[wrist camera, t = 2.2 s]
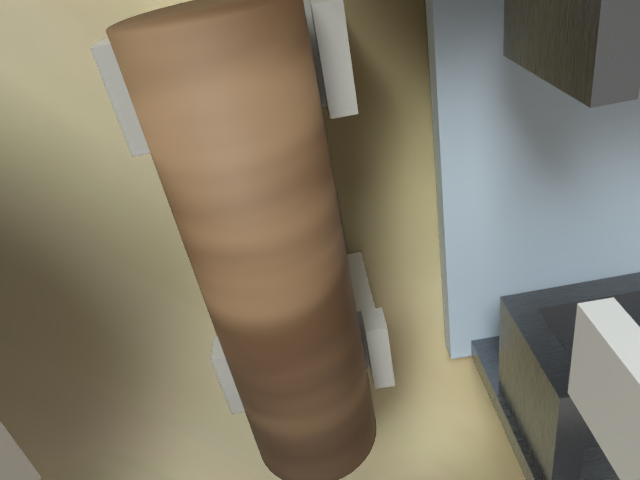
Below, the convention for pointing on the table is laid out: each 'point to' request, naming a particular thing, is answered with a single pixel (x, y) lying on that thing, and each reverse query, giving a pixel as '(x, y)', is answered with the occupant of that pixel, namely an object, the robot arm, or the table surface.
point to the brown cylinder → (258, 217)
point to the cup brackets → (561, 302)
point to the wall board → (521, 175)
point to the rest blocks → (341, 101)
